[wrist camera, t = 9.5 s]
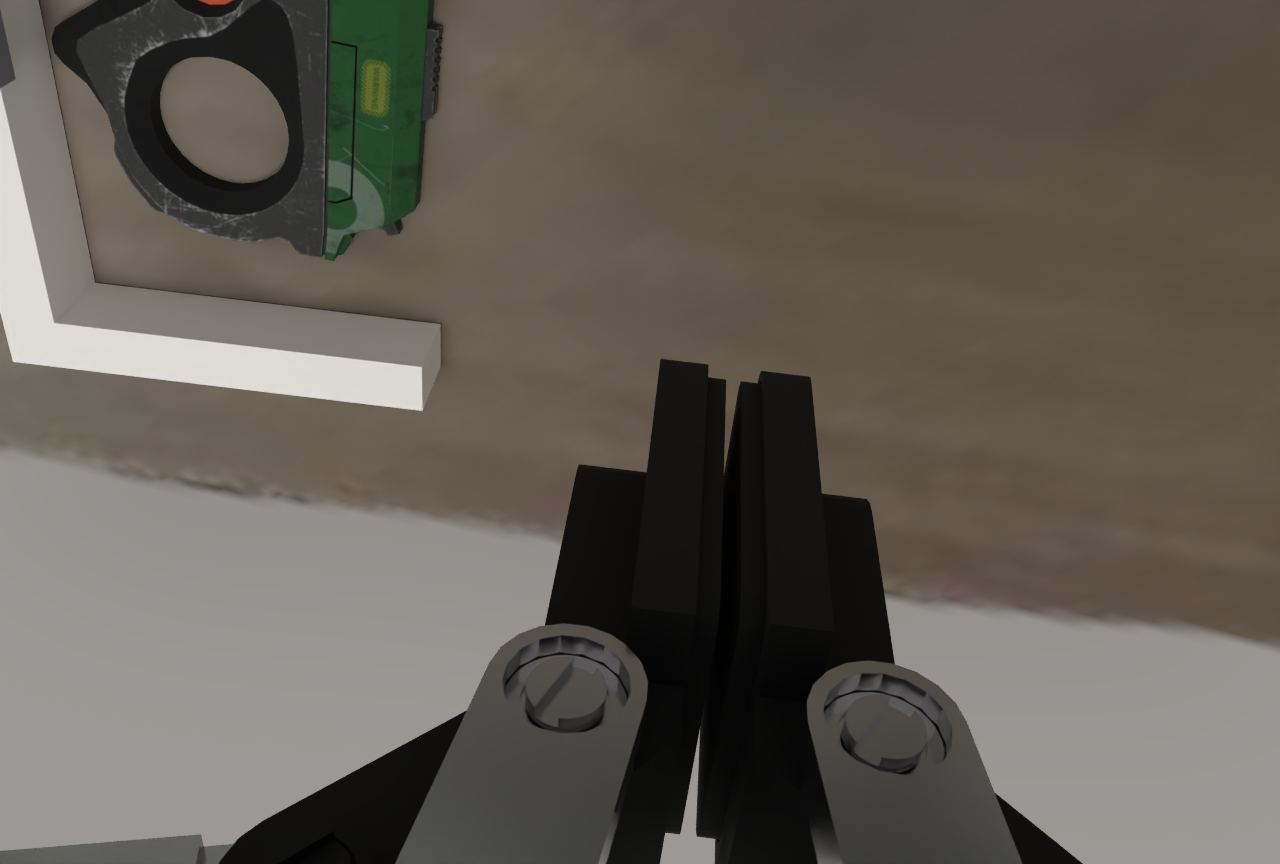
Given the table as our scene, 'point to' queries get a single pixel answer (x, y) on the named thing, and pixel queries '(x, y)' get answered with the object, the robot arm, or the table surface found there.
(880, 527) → the table surface
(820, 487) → the robot arm
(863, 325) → the table surface
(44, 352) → the white angled bar
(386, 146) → the gun
